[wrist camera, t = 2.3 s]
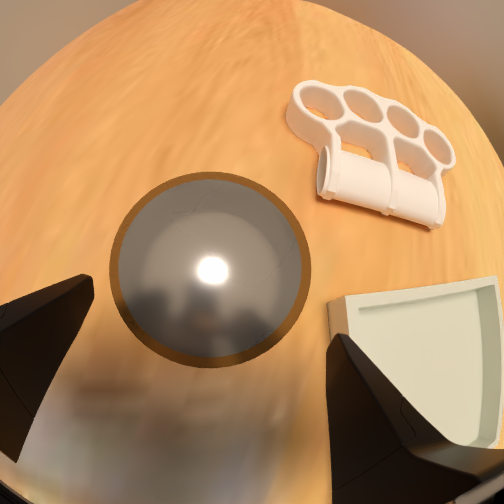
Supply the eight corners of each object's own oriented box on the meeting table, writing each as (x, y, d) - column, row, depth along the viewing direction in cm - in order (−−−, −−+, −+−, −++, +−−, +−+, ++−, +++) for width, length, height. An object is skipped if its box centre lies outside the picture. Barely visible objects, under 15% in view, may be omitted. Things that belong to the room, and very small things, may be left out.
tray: (478, 440, 16) (498, 443, 13) (333, 509, 14) (348, 527, 11) (475, 282, 21) (496, 274, 18) (326, 302, 19) (345, 295, 16)
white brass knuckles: (274, 195, 21) (289, 83, 26) (450, 242, 22) (428, 132, 27) (283, 170, 18) (295, 60, 23) (473, 229, 19) (442, 116, 24)
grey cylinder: (249, 347, 17) (320, 358, 5) (186, 349, 17) (108, 365, 4) (245, 286, 18) (297, 172, 6) (184, 288, 18) (120, 176, 6)
